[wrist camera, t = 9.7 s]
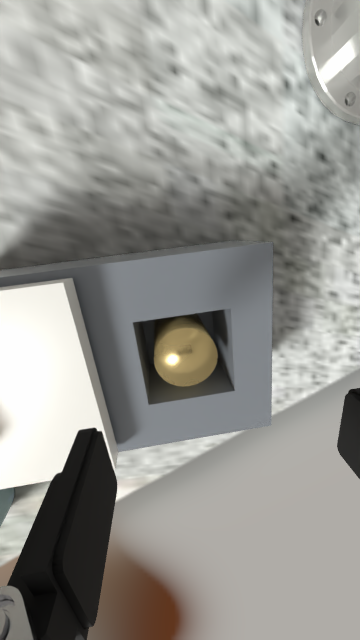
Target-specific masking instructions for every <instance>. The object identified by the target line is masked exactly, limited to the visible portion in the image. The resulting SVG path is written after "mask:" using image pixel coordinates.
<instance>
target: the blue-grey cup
mask: <svg viewBox="0 0 360 640" xmlns="http://www.w3.org/2000/svg"><path fill="white" fill-rule="evenodd" d="M13 499H14V487H11V488H6V489H0V526H1V524H2V522H3V520H4V519H5V517H6V515H7V513H8V511H9V509H10V506H11V504H12V502H13Z"/></svg>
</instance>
